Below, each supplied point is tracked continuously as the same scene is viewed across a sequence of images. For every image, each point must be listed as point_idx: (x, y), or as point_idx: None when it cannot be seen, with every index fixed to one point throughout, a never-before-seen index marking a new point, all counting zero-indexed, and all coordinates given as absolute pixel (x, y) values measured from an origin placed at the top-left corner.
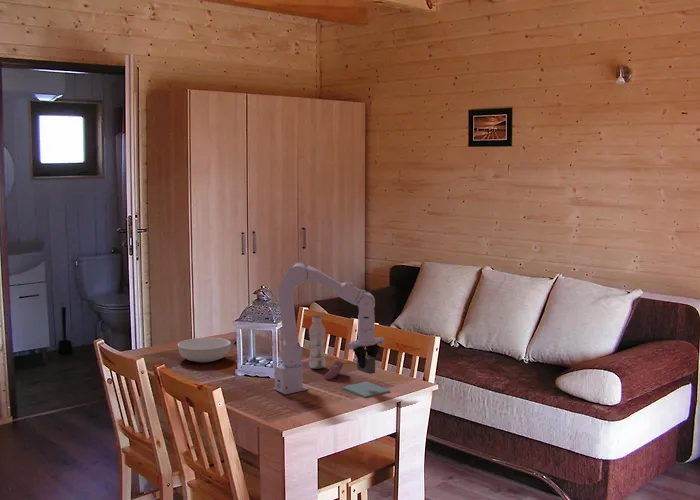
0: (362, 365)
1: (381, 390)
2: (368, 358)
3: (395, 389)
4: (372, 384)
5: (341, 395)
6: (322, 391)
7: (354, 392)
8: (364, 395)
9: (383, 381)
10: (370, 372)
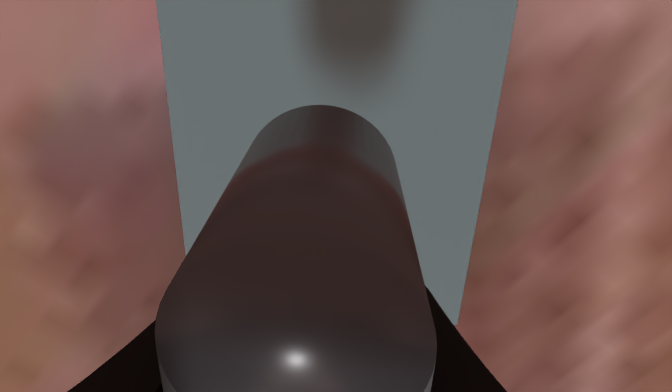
0: (444, 319)
1: (240, 24)
2: (380, 357)
3: (59, 2)
4: (201, 226)
5: (606, 189)
6: (618, 347)
7: (486, 161)
8: (508, 2)
9: (45, 259)
10: (372, 133)
